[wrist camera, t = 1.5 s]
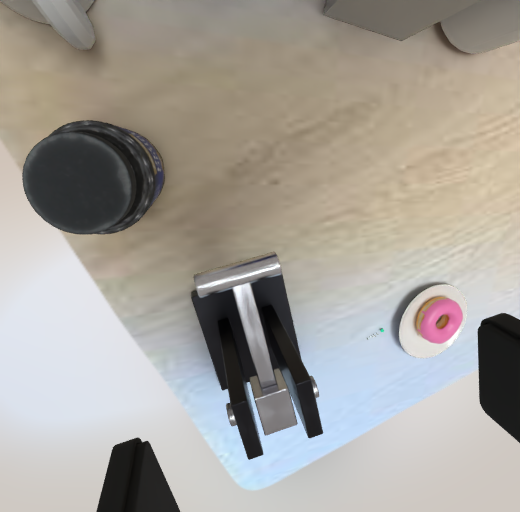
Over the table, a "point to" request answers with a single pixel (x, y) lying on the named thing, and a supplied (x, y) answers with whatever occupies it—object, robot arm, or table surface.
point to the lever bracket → (240, 361)
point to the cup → (60, 18)
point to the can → (484, 26)
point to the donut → (432, 321)
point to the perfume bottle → (394, 14)
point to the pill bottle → (92, 177)
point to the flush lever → (254, 335)
